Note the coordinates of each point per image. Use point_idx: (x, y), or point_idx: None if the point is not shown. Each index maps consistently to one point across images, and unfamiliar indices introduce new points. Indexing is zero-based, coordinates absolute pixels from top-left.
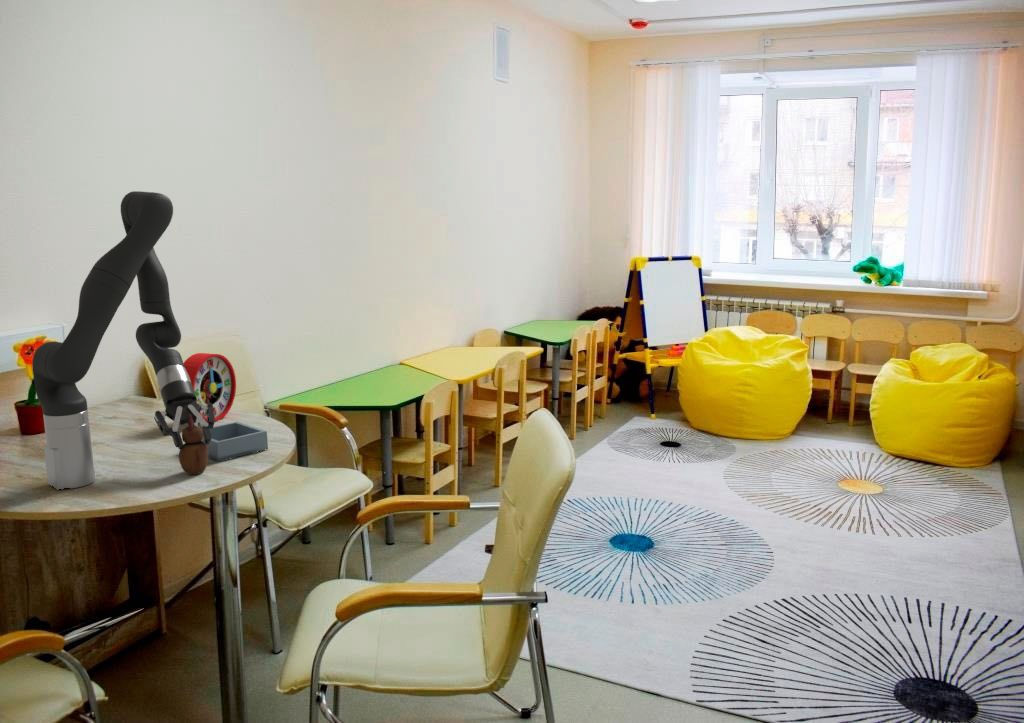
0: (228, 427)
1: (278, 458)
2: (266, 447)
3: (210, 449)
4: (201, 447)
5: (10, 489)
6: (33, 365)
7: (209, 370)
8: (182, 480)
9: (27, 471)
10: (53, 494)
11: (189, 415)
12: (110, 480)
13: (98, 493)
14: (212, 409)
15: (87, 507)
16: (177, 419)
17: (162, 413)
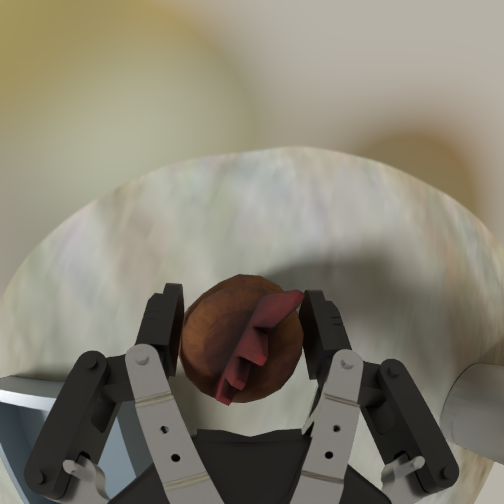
0: None
1: (14, 280)
2: (7, 376)
3: (138, 438)
4: (214, 290)
5: None
6: None
7: None
8: (294, 271)
9: (467, 494)
10: (498, 346)
11: (295, 292)
12: (426, 389)
13: (460, 301)
14: (43, 438)
15: (475, 225)
16: (338, 417)
17: (409, 491)
